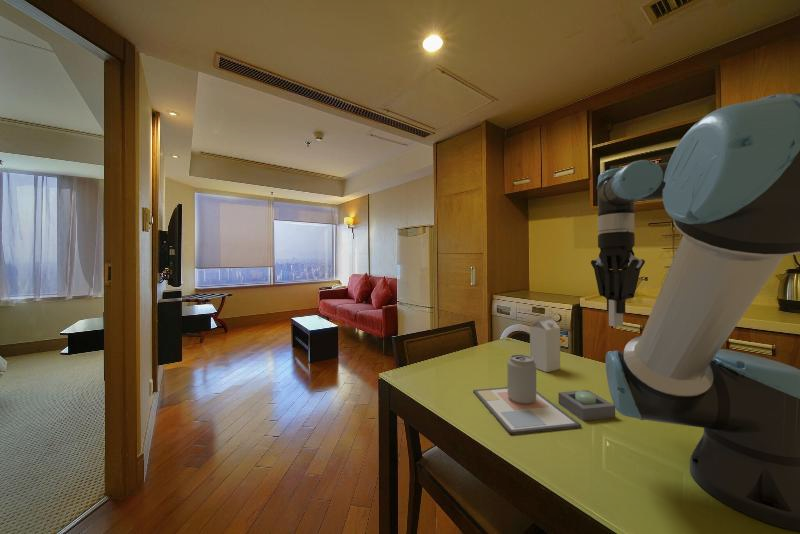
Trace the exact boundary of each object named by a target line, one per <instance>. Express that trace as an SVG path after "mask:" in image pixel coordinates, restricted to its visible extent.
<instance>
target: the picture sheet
mask: <svg viewBox="0 0 800 534" xmlns="http://www.w3.org/2000/svg"><path fill="white" fill-rule="evenodd" d="M472 390H473V394H474V395H475V396H476V397H477V398H478V400H479V401H480V402H481V403H482V404H483V406H484V407H485V408H486V409H487V410H488V411H489V412H490V413H491V415H492V416H493V417H494V418H495V420H496V421H498V423H499V424H500V425H501V427H503V429H504V430H505V431H506V432H507V433H508V434H509V436H512V435H513V436H514V435H525V434H532V433H542V432H552V431H561V430H562V431H563V430H571V429H578V428H579V429H580V428H582V424H581V423H580V422H579V421H577V420H576V419H574V418H573V417H571V416H570V415H569V414H568V413H566V412H565V411H564V410H562V409H561V408H559V407H558V406H557V405H556V404H554V403H553V402H552V401H550V400H549V399H547V398H546V397H545V396H544V395H542V394H541V393H539V391H537V390H536V401H534V402H533V403H531V404H519V403H516V402H514V401H512V400H511V399H510V398H509V396H508V391H507V386H503V387H494V388H493V387H492V388H491V387H490V388H480V389H472Z"/></svg>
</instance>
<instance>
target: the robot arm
mask: <svg viewBox="0 0 800 534" xmlns="http://www.w3.org/2000/svg"><path fill="white" fill-rule="evenodd" d="M596 190H597V232H598V233H599V234H598V235H597V248H598V249H599V251H600V252H599V254H598V257H597V259H595V260H594V259H592V260H591V261H590V265H591V267H592V268H593V270H594V276H595V280H596V285H597V289H598V290H597V291H598V294H599V296H600V297H604V298H605V300H606V311H607V312H608V326H610V327H614V328H615V327H624V314H625V313H626V301H627V300H630V299H634V297H635V295H636V290H637V285H638V281H639V278H640V273H641V269H642V268H643V266H644V265H645V263H646V260H645V259H641V258H640V259H639V257H636V256H635V252H634V249H633V248H634V247H635V242H636V241H635V239H636V238H635V235H636V234H635V232H633V231H634V230H635V213H636V211H635V204H636V203H635V202H639V201H652V200H653V201H654V200H656V201H657V200H662V203H663V206H664V209H665V211H666V213H667V214H668V216H669V217H670V218H671V219H673V225H674V227H675V229H676V230H677V231H678V232H679V233H680V234H682V236H681V239H680V242H679V245H678V246H677V249H676V251H675V254H674V257H673V259H672V261H671V264H670V266H669V268H668V271H667V273H666V276H665V279H664V280H663V283H662V286H661V287H660V290H659V292H658V295H657V298H656V299H655V302H654V305H653V307H652V309H651V312H650V314H649V316H648V319H647V321H646V323H645V326H644V329H643V331H642V334H641V335H640V336H636V337H634V338H632V339H630V341H628V342H627V343H626V345H625V347H624V348H623V351H619V350H611V351H607V352H606V354H605V373H606V378H607V379H606V380H607V385H608V389H609V394H610V397H611V400H612V404H613V405H614V406H615V410H616V411H617V412H618V413H619V414H620V415H622V416H623V417H624V416H625V417H628V418H632V419H638V420H640V421H650V422H658V423H665V424H673V425H681V426H686V427H687V426H688V427H693V428H694V427H695V428H703V434H702V436H701V438H700V439H699V441H698V443H697V444H696V446H695V447H694V450H693V451H692V453H691V455H690V459H689V472H690V475H691V477H692V479H693V480H694V481H695V482H696V483H697V485H698V486H700V487H701V488H702V489H703V491H706V492H707V494H709V495H711V496H713V498H715V499H717V500H718V501H720V502H722V503H723V504H725V505H727V506H729V507H730V508H732V509H734V510H736V511H739V512H740V513H742V514H745V515H746V516H748V517H751V518H753V519H756V520H758V521H762V522H764V523H767V524H770V525H772V526H775V527H779V528H783V529H786V530H791V531H796V532H800V369H799V368H797V367H794V366H792V365H789V364H786V363H783V362H780V361H776V360H773V359H770V358H766V357H762V356H758V355H753V354H751V353H750V354H749V353H746V352H745V353H744V352H741V351H734V350H730V349H729V350H728V349H722V347H723V345H724V344H725V342H726V341H727V340H728V338H729V336H730V335H731V334H732V333H733V331H734V330H735V328H736V326H737V325H738V323H739V322H740V321H741V320H742V318H743V316H744V315H745V313H746V312H747V311H748V310H749V308H750V306H751V305H752V303H753V302H754V301H755V299H756V298H757V297H758V295H759V294H760V292H762V291H761V290H763V288H764V286H765V285H766V283H767V282H768V281H769V279H770V278H771V276H772V275H773V273H774V272H775V270H776V269H777V267H778V266H779V264H781V262H782V260H783V259H784V258H785V257H789V256H794V255H799V254H800V92H795V93H777V94H772V95H767V96H765V97H760V98H758V99H755V100H750V101H744V102H738V103H733V104H730V105H726V106H723V107H719V108H718V109H716V110H713V111H711V112H710V113H708V114H707V115H705V116H703V118H702V119H700V120H698V121H697V122H695V124H693V125H692V126H691V127H690V129H688V130H687V132H686V133H685V134H684V135H683V136H682V138H681V139H680V140H679V142H678V143H677V145H676V147H675V148H674V150H673V152H672V155H671V156H670V159H669V161H668V162H660V163H657V162H654V161H650V160H647V159H640V160H635V161H633V162H631V163H629V164H627V165H625V166H623V167H615V168H611V169H608V170H604V171H602V172H601V173H599V175H598V177H597V185H596Z"/></svg>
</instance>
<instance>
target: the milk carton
mask: <svg viewBox="0 0 800 534" xmlns="http://www.w3.org/2000/svg"><path fill="white" fill-rule="evenodd" d="M552 317H553V315H552V314H549V315H543V316H542V315H541V316H537V320H536V321H534V322H533V323H532V324H531V325H529V356H530V357H532V358H533V359H534V360H533V361H534V362H535V363H536V370H540V371H543V372H545V373H549V372H554V371H557V370H560V369H561V327H560V326H559V325H558V323H556V321H555V319H553V318H552Z"/></svg>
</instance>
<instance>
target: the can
mask: <svg viewBox="0 0 800 534" xmlns="http://www.w3.org/2000/svg"><path fill="white" fill-rule="evenodd" d="M533 360H534V359H533V358H532V357H530V355H527V354H519V353H516V354H511V355H510V356H509V358H508V360H507V365H506V367H507V368H506V369H507V378H506V380H507V384H506V385H507V386H506V387H507V391H508V396H509V398H510V399H511V400H512V401H514V402H516V403H519V404H531V403H533V402H534V401H536V391H537V368H536V363H535V362H534V361H533Z"/></svg>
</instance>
